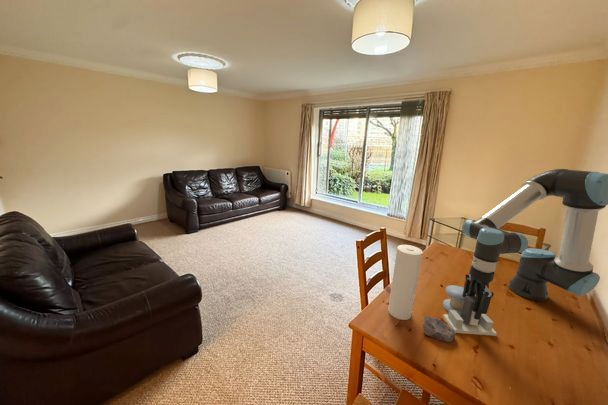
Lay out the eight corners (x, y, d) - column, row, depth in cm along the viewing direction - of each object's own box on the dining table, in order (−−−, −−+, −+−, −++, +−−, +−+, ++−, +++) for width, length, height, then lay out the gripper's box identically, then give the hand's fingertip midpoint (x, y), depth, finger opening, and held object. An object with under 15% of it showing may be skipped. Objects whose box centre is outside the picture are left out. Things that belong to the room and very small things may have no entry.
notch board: (481, 319, 105) (483, 309, 103) (496, 335, 96) (499, 325, 95) (442, 316, 105) (444, 307, 104) (454, 332, 96) (456, 322, 95)
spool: (462, 302, 116) (465, 286, 114) (476, 318, 105) (481, 301, 103) (438, 300, 116) (441, 284, 114) (450, 316, 106) (454, 299, 103)
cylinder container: (413, 321, 101) (425, 254, 94) (389, 317, 103) (399, 251, 96) (408, 307, 110) (419, 245, 103) (386, 303, 112) (396, 242, 105)
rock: (455, 348, 89) (457, 337, 88) (420, 335, 95) (422, 325, 94) (454, 333, 96) (456, 323, 95) (422, 322, 102) (424, 313, 100)
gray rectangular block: (472, 317, 102) (478, 296, 99) (478, 324, 98) (484, 302, 95) (460, 316, 102) (465, 295, 100) (466, 323, 98) (471, 301, 96)
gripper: (460, 257, 103) (449, 305, 108) (487, 279, 86) (473, 335, 92) (478, 258, 102) (466, 307, 108) (509, 281, 86) (493, 337, 91)
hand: (469, 320), depth 100 cm, fingers closed on gray rectangular block, 4 cm apart
